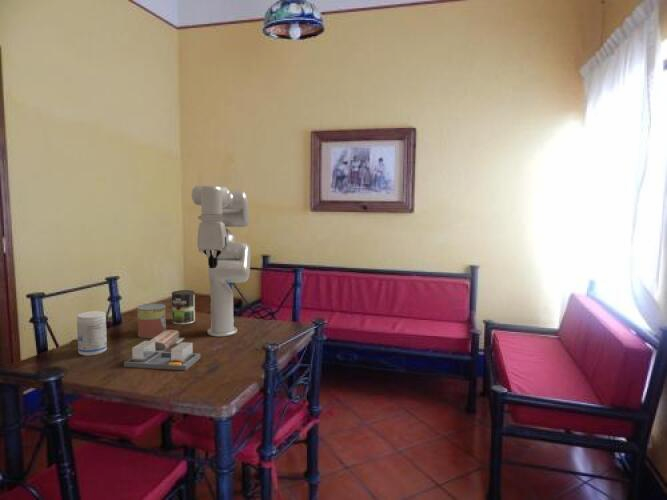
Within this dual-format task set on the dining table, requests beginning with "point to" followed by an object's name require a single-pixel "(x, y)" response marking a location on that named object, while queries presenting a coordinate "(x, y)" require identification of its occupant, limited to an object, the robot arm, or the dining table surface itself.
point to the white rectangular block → (182, 353)
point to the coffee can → (183, 307)
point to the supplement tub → (91, 333)
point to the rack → (162, 362)
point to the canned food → (151, 319)
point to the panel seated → (143, 351)
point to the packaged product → (166, 339)
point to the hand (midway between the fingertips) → (213, 267)
